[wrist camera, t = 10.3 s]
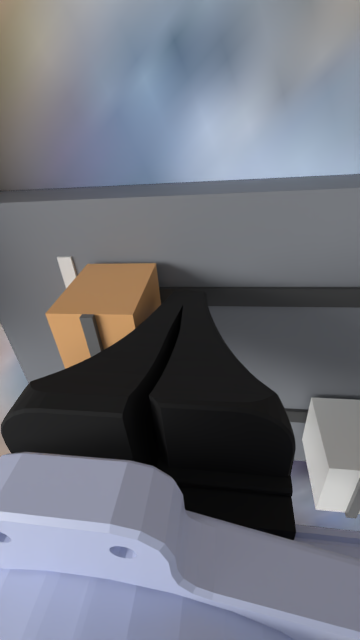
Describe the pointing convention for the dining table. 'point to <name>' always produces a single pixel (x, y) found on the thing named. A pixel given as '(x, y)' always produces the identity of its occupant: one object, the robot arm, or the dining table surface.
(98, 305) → the block
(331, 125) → the dining table surface
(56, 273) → the fader board
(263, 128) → the dining table surface
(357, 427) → the pale fader
